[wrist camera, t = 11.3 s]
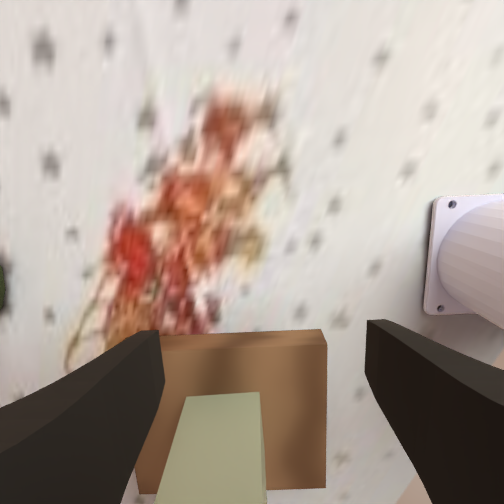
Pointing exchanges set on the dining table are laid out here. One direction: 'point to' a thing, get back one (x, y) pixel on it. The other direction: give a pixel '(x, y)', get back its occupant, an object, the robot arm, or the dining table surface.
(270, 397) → the walnut base
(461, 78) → the dining table surface
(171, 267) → the dining table surface
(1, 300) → the beige green trophy cup
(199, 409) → the sage block
